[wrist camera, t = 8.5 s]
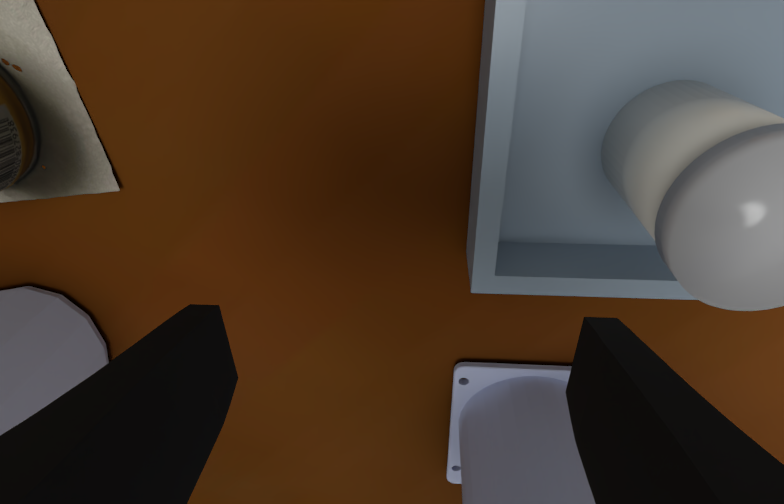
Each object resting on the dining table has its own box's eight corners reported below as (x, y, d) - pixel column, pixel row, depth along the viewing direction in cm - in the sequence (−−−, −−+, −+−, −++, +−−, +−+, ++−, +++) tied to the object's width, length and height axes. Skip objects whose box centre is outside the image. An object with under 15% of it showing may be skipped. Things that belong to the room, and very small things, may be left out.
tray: (802, 259, 19) (857, 304, 17) (466, 251, 20) (471, 292, 18) (1086, -297, 11) (1279, -373, 9) (505, -265, 12) (524, -325, 10)
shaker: (714, 205, 18) (837, 314, 12) (585, 203, 18) (648, 307, 13) (762, 74, 15) (942, 137, 10) (612, 75, 16) (704, 135, 10)
